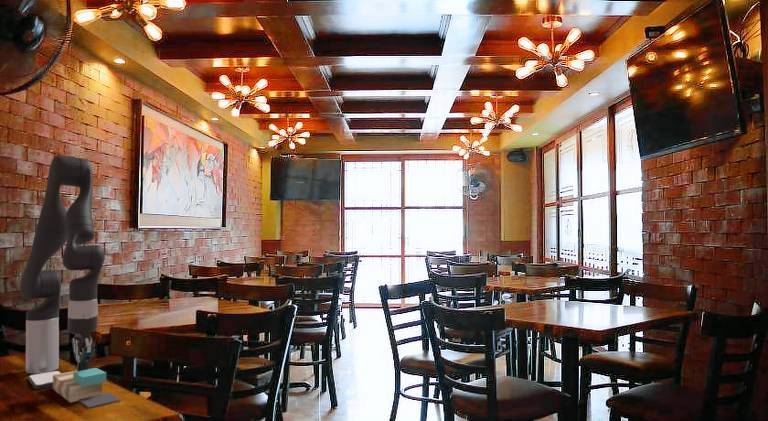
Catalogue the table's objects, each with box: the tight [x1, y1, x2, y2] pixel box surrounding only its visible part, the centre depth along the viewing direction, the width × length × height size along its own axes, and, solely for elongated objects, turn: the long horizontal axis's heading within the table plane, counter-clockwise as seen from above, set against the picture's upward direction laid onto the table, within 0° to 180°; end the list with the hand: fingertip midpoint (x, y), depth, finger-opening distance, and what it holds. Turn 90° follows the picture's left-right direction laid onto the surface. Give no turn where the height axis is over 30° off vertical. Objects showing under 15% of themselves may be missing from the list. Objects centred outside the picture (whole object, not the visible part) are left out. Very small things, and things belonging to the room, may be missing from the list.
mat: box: [77, 392, 122, 409], centre depth 145 cm, size 9×8×1 cm
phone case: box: [27, 370, 62, 390], centre depth 164 cm, size 9×2×16 cm
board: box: [52, 370, 103, 404], centre depth 153 cm, size 18×8×4 cm, turn 45°
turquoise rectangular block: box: [73, 367, 107, 387], centre depth 149 cm, size 8×6×2 cm
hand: (82, 374), depth 153 cm, fingers closed
